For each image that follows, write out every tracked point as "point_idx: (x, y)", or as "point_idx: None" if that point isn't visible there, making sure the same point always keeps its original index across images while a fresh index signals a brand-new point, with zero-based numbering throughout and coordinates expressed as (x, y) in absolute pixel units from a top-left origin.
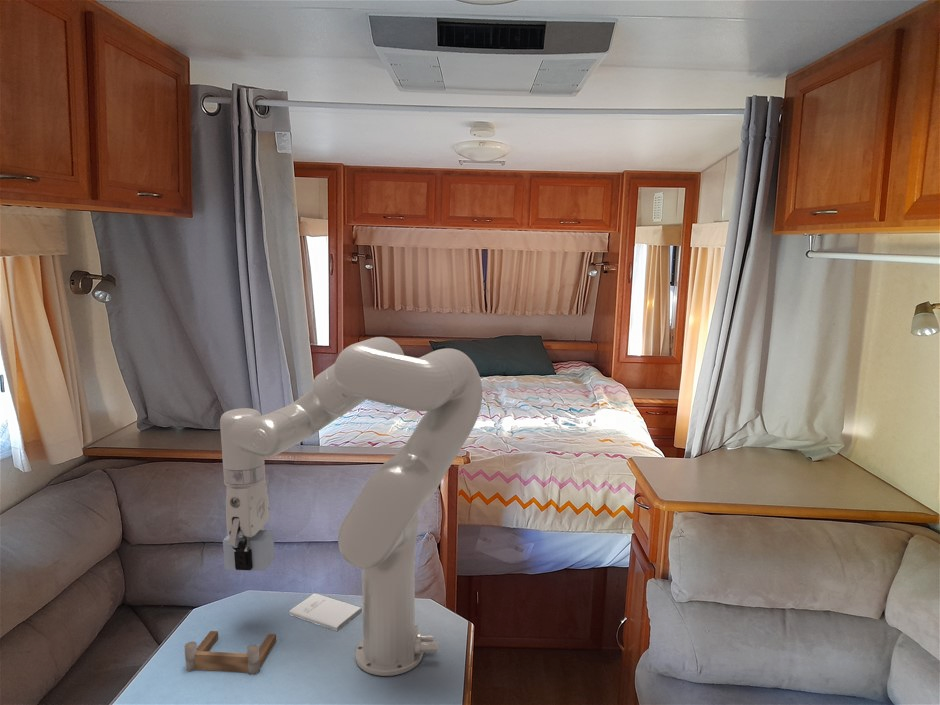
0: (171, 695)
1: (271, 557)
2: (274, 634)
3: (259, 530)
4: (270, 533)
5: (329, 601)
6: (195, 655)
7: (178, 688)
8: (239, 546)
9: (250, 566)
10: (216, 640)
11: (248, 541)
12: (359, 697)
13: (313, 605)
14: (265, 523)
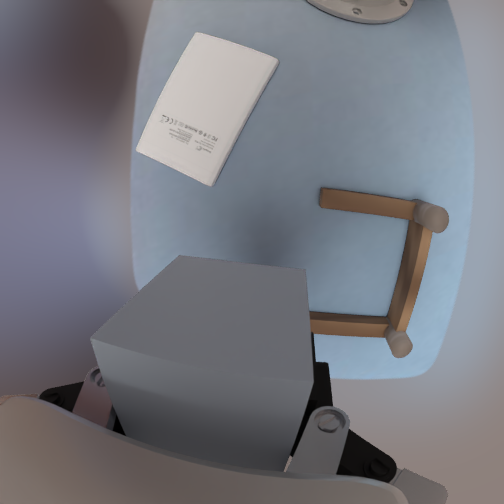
0: (445, 323)
1: (210, 269)
2: (324, 192)
3: (123, 412)
4: (141, 351)
5: (169, 104)
6: (405, 329)
7: (433, 321)
8: (392, 466)
9: (313, 343)
10: (313, 312)
11: (320, 456)
12: (457, 31)
13: (185, 135)
14: (91, 428)
